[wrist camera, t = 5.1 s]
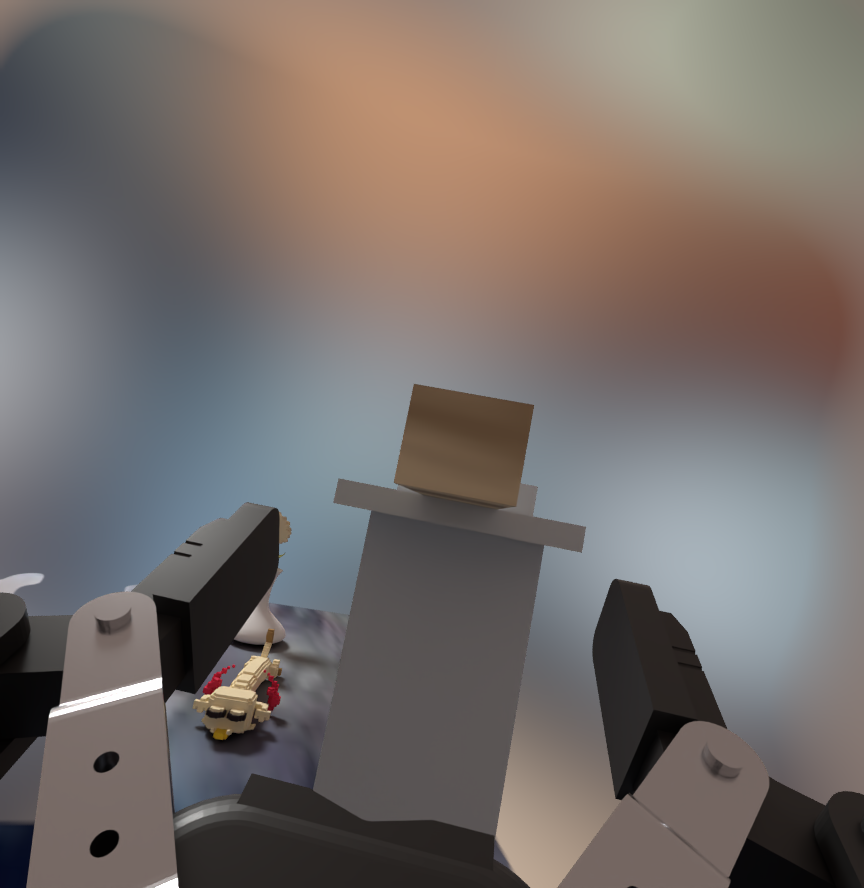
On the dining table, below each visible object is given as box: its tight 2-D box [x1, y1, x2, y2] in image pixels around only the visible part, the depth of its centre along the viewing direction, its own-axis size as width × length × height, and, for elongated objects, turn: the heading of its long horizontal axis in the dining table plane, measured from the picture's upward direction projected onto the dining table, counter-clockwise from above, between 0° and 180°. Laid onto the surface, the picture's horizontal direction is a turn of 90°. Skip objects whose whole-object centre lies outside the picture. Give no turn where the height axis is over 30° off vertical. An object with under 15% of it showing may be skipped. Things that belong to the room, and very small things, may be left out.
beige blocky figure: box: [192, 628, 282, 740], centre depth 73 cm, size 10×9×25 cm
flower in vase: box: [234, 512, 291, 645], centre depth 102 cm, size 13×11×25 cm
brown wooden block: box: [394, 384, 534, 509], centre depth 28 cm, size 26×4×3 cm, turn 176°
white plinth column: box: [313, 479, 586, 841], centre depth 34 cm, size 22×14×35 cm, turn 176°
